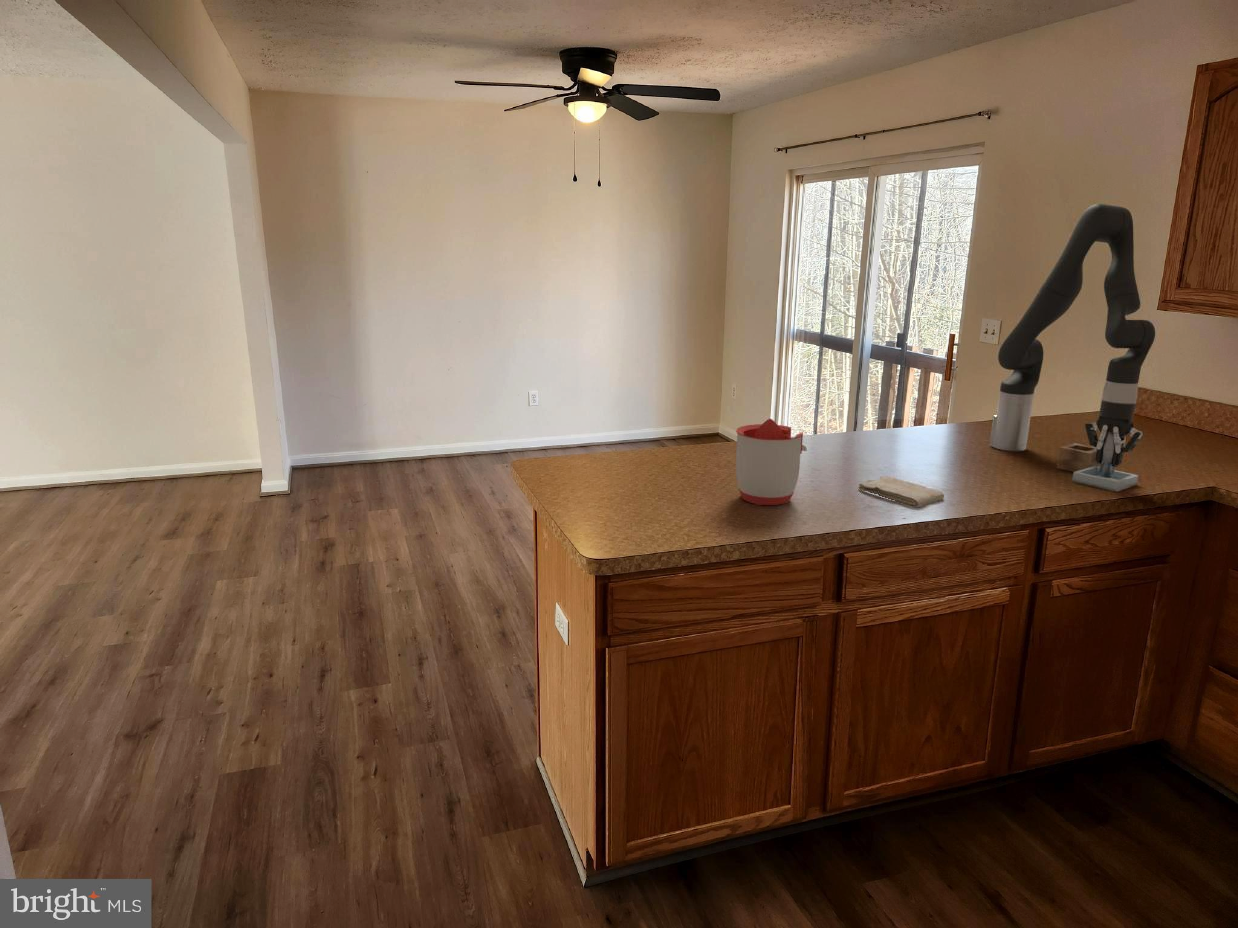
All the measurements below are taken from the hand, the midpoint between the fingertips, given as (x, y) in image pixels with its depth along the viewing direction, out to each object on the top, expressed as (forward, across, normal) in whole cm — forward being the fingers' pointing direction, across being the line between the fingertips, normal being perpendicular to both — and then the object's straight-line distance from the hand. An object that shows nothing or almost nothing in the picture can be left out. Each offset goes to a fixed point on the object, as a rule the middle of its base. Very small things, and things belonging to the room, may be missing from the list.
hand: (1107, 464), depth 210 cm
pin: (+3, 0, 0) cm, 3 cm away
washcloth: (+6, -24, -53) cm, 59 cm away
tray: (+5, 0, 0) cm, 5 cm away
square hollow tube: (+5, -11, +8) cm, 14 cm away
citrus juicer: (+5, -40, -82) cm, 92 cm away
